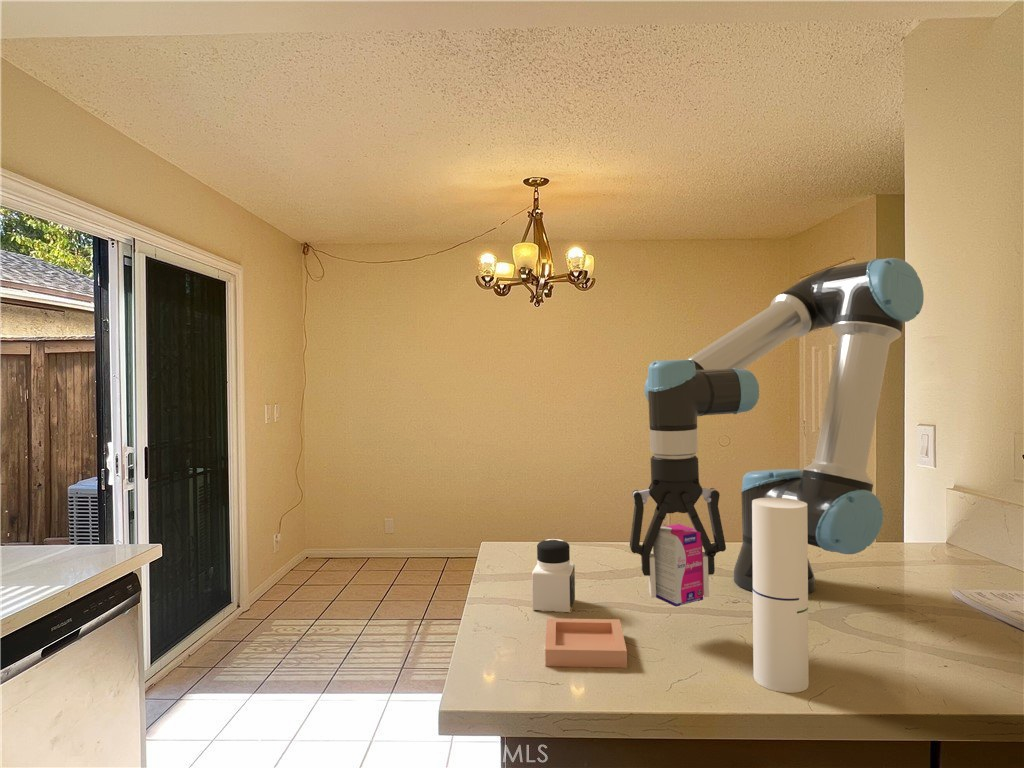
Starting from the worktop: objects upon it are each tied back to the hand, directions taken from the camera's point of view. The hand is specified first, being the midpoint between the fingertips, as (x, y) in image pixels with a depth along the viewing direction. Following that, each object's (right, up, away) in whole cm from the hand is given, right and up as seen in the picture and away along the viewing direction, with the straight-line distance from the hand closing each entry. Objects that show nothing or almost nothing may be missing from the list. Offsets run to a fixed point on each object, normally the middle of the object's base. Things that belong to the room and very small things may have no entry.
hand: (678, 594), depth 106 cm
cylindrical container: (+11, -7, -15) cm, 20 cm away
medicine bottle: (-19, -7, +15) cm, 26 cm away
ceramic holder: (-16, -7, -4) cm, 18 cm away
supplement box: (0, -1, 0) cm, 1 cm away
